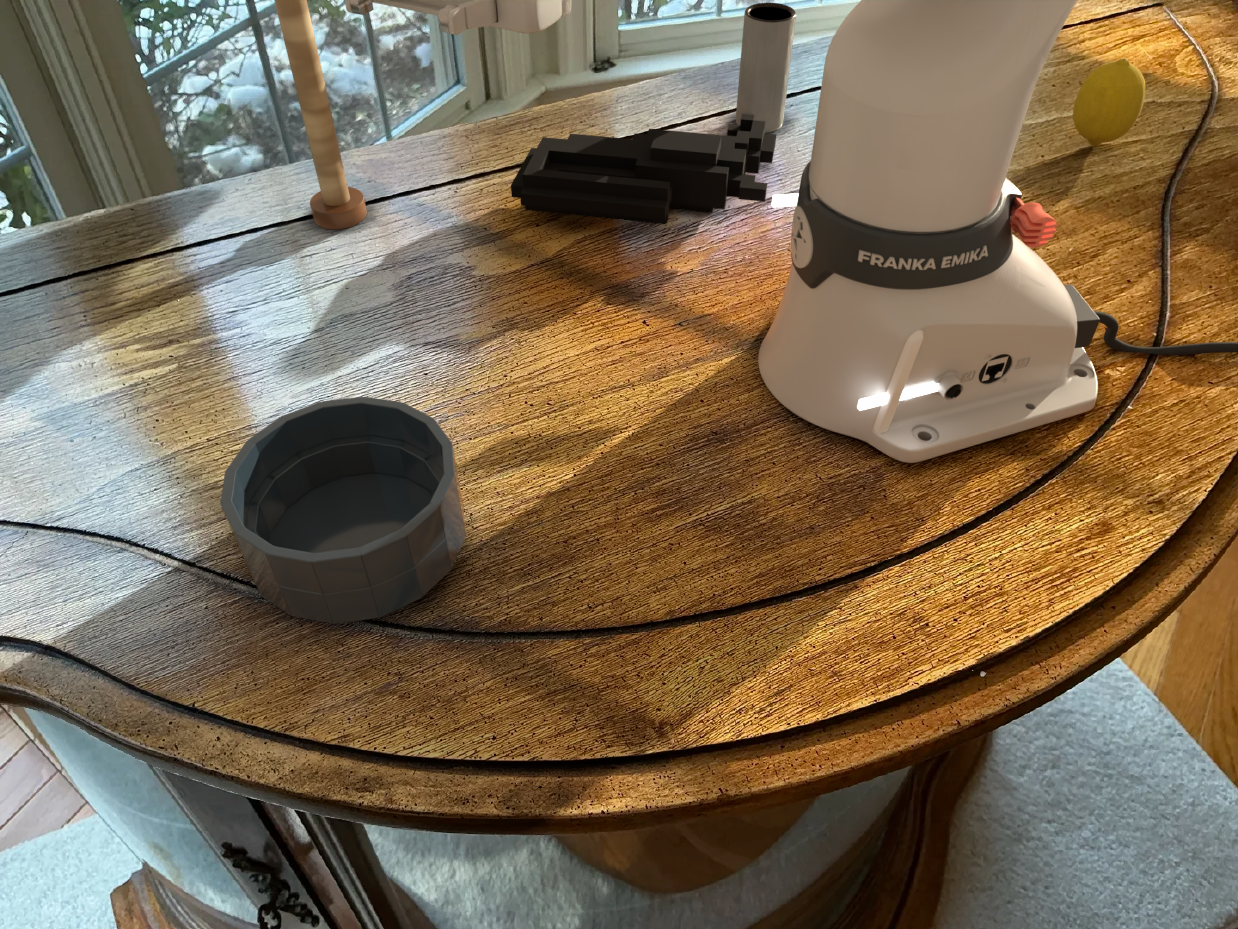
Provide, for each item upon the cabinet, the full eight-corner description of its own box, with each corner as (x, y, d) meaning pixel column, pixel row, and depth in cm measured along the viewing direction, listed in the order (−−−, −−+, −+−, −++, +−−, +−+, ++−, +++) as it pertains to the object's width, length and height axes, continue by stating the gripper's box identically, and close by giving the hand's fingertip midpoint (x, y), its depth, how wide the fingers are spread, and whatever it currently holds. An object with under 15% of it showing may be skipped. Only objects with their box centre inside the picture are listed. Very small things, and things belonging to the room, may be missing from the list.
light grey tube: (790, 118, 95) (804, 8, 87) (770, 137, 92) (782, 25, 85) (748, 107, 96) (758, -2, 89) (727, 126, 94) (735, 14, 86)
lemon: (1049, 136, 92) (1077, 50, 86) (1100, 127, 93) (1131, 42, 87) (1086, 164, 88) (1118, 76, 83) (1138, 154, 89) (1173, 67, 84)
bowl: (460, 458, 62) (448, 386, 58) (473, 614, 54) (460, 542, 49) (261, 483, 61) (234, 410, 56) (242, 646, 52) (208, 576, 48)
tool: (551, 85, 88) (504, 167, 77) (780, 104, 85) (763, 192, 75) (554, 141, 92) (510, 227, 81) (773, 162, 89) (757, 253, 78)
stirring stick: (367, 199, 84) (321, -22, 72) (366, 226, 81) (318, 0, 69) (314, 204, 84) (259, -18, 71) (312, 231, 81) (253, 4, 68)
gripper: (389, -93, 91) (289, -47, 82) (584, -60, 84) (498, -7, 75) (400, -20, 95) (307, 31, 86) (586, 16, 89) (505, 75, 80)
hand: (397, 14), depth 81 cm, fingers open, 8 cm apart
